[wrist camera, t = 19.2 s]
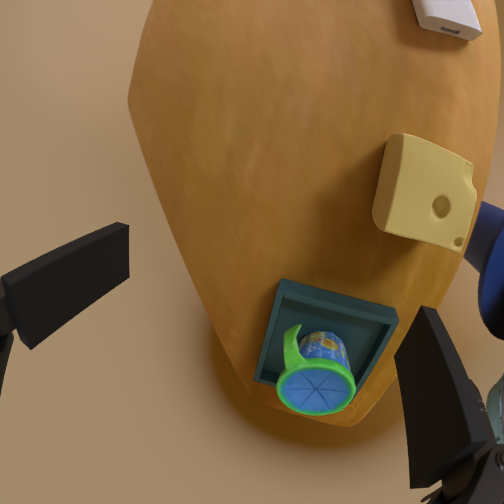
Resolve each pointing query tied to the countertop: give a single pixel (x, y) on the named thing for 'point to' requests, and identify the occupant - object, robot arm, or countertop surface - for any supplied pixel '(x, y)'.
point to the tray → (325, 328)
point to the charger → (448, 17)
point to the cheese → (424, 193)
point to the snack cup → (315, 373)
